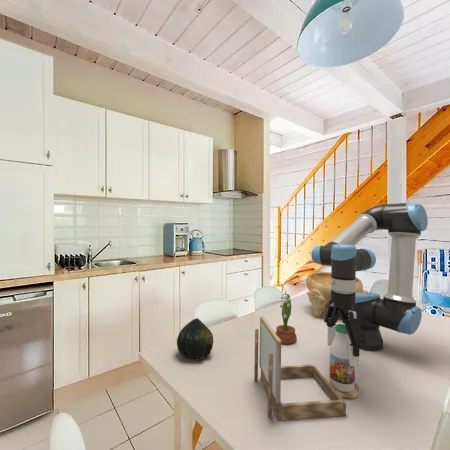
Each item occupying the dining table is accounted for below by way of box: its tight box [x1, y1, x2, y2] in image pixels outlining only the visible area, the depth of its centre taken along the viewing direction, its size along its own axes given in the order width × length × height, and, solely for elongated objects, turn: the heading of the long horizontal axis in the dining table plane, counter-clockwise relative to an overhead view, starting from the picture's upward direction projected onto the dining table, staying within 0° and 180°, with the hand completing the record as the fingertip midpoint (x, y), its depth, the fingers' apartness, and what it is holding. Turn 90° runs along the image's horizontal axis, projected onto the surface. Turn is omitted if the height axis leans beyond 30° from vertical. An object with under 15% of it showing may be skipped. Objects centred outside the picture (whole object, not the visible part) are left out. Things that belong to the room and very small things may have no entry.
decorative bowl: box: [305, 271, 370, 318], centre depth 164 cm, size 34×35×23 cm
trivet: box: [324, 376, 361, 400], centre depth 89 cm, size 11×11×1 cm
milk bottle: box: [328, 323, 356, 392], centre depth 88 cm, size 8×8×20 cm
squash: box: [176, 317, 214, 361], centre depth 110 cm, size 14×15×15 cm
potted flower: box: [274, 288, 298, 345], centre depth 123 cm, size 12×10×25 cm
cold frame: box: [260, 364, 347, 421], centre depth 85 cm, size 20×20×4 cm
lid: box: [258, 315, 282, 405], centre depth 84 cm, size 1×20×18 cm, turn 7°
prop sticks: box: [253, 328, 273, 419], centre depth 83 cm, size 1×18×18 cm, turn 6°
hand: (341, 354), depth 89 cm, fingers open, 13 cm apart
